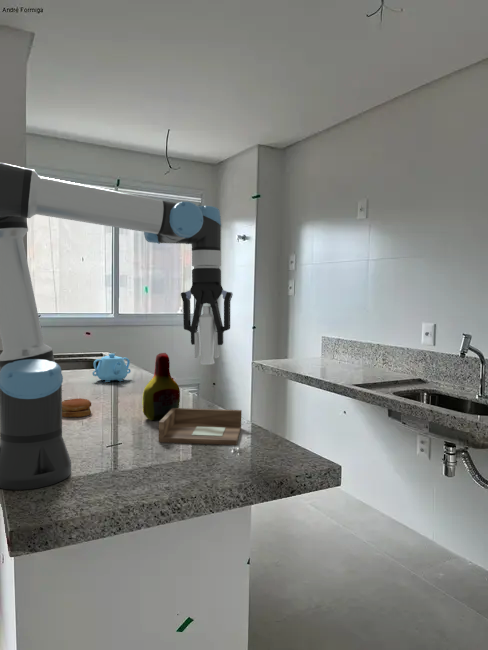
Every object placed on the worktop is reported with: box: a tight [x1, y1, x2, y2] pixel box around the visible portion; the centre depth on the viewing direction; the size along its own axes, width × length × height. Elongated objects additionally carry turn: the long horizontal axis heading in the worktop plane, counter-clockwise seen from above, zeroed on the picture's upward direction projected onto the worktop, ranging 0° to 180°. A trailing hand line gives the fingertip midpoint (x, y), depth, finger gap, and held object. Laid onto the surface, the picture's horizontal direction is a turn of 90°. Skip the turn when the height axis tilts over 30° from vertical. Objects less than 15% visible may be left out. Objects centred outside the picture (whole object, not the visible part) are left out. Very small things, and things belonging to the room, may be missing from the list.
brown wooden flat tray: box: [158, 407, 242, 446], centre depth 133 cm, size 16×20×5 cm
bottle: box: [141, 352, 181, 421], centre depth 150 cm, size 12×6×20 cm, turn 119°
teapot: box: [92, 353, 131, 383], centre depth 212 cm, size 20×17×12 cm
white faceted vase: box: [198, 305, 216, 366], centre depth 128 cm, size 5×4×15 cm
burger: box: [62, 397, 92, 418], centre depth 154 cm, size 10×9×5 cm
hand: (207, 357), depth 129 cm, fingers closed on white faceted vase, 5 cm apart
